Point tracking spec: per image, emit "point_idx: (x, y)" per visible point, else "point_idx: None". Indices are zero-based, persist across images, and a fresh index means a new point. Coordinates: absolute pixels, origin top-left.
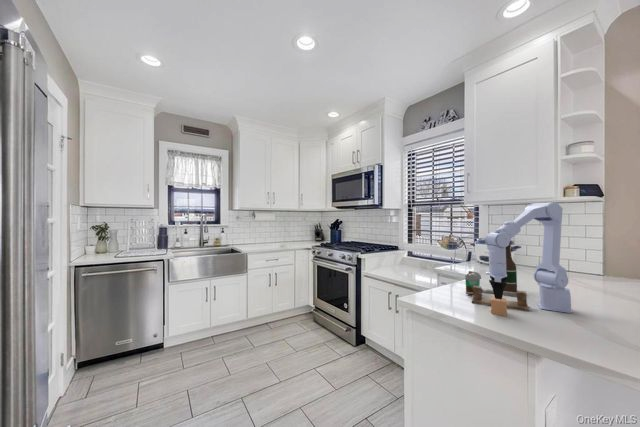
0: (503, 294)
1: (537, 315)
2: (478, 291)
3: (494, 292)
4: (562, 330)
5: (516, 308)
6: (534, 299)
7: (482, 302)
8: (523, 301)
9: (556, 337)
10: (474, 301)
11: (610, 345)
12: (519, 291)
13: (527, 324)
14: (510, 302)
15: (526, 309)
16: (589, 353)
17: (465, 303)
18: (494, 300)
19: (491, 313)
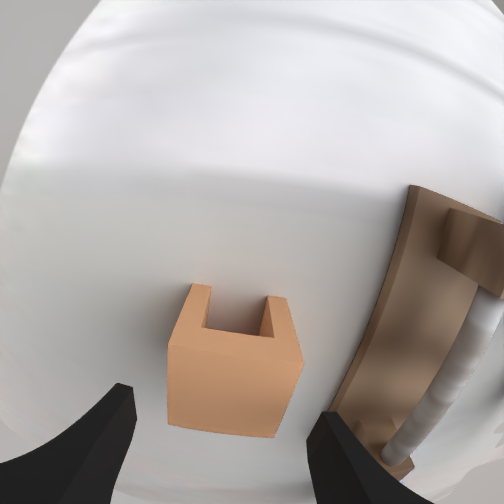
0: (416, 411)
1: (263, 449)
2: (485, 264)
3: (81, 424)
4: (129, 453)
5: (330, 410)
6: (448, 433)
7: (399, 259)
8: None
9: (58, 415)
10: (413, 204)
11: None
12: (396, 476)
13: None
14: (403, 396)
15: None
16: (23, 419)
17: (383, 131)
18: (167, 366)
19: (192, 284)
